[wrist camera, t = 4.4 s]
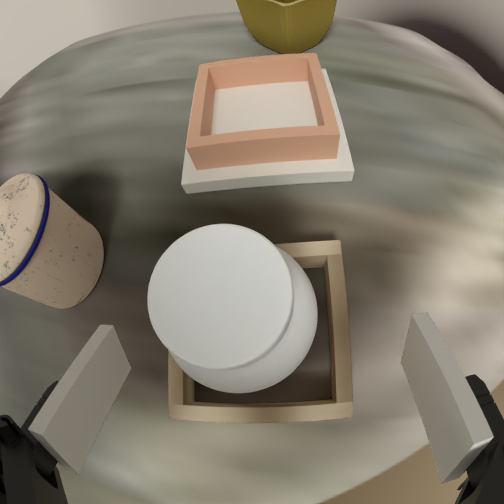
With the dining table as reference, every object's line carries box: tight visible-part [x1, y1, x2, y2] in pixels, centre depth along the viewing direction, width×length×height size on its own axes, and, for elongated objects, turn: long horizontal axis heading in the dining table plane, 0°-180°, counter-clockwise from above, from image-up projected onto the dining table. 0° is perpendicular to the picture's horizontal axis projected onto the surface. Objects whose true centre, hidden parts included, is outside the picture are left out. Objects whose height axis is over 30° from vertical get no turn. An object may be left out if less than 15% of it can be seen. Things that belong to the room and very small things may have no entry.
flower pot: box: [236, 0, 337, 54], centre depth 29 cm, size 9×9×9 cm
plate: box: [181, 53, 354, 194], centre depth 26 cm, size 14×14×4 cm
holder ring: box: [168, 240, 353, 423], centre depth 20 cm, size 12×12×2 cm
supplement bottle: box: [147, 224, 318, 393], centre depth 15 cm, size 7×7×13 cm
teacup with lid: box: [0, 173, 104, 309], centre depth 20 cm, size 12×9×12 cm
